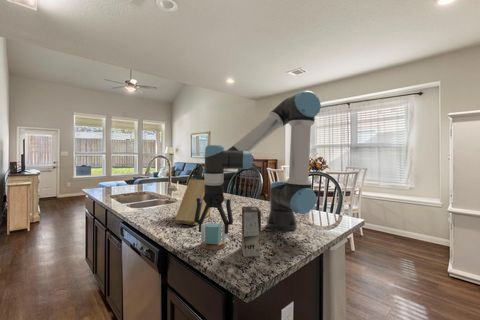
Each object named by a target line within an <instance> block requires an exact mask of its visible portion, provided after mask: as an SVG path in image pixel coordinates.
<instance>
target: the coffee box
mask: <svg viewBox="0 0 480 320" xmlns="http://www.w3.org/2000/svg"><path fill="white" fill-rule="evenodd" d="M261 224H262V211H261V210H260V209H259V207H258V206H242V207H241V252H242V256H243V257H246V258H247V257H250V258H251V257H260V256H261V247H262V246H261V245H262V244H261V240H262V239H261V238H262V237H261V235H262V233H261V232H262V231H261V229H262V227H261V226H262V225H261Z"/></svg>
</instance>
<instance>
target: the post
mask: <svg viewBox="0 0 480 320" xmlns="http://www.w3.org/2000/svg"><path fill="white" fill-rule="evenodd" d="M226 246H227V242H226V241H225V243H222V239H221V241H220V242H219V244H206V243H205V239H204V240H203V241H200V248H201V249H202V250H206V251H220V250H222V249H225V248H226Z"/></svg>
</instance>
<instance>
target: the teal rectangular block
mask: <svg viewBox="0 0 480 320" xmlns="http://www.w3.org/2000/svg"><path fill="white" fill-rule="evenodd" d="M204 240H205V243H206V244H219V242H220V241H221V240H222V223H217V222H216V223H215V222H209V223H207V224H205V239H204Z"/></svg>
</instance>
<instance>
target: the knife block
mask: <svg viewBox="0 0 480 320" xmlns="http://www.w3.org/2000/svg"><path fill="white" fill-rule="evenodd" d="M203 172H205V168H204V167H203V164H202V163H198V164H197V165H196V168H195V170H194V173H193V177H192V179H189V181H188V184H187V185H186V188H185V192H184V194H183V197H182V199H181V202H180V205H179V207H178V210H177V213H176V216H175V219H174V221H175V222H176V224H179V225H180V224H184V225H185V224H186V225H194V226H196V225H199V224H198V223H195V222H194V219H195V213H196V208H197V198H199V197H201V198H202V197H204V186H205V184H206V183H205V176H204V177H203ZM205 206H206V203H205V201H204V200H203V202H202V207H201V212H200V217H199V219H200V218H201V216H202V213H203V211H204V209H205ZM209 215H211V208H209V210H208V212H207V215H206V217H207V218H208V216H209ZM206 217H205V218H206Z"/></svg>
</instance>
